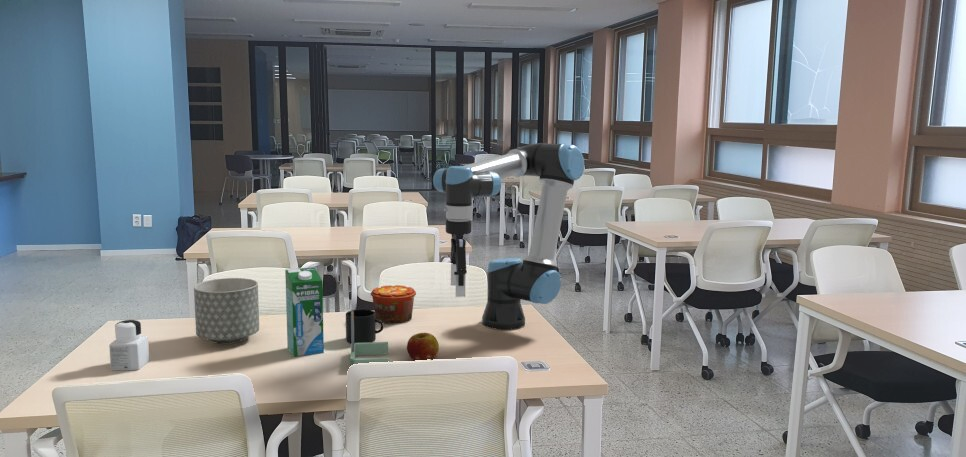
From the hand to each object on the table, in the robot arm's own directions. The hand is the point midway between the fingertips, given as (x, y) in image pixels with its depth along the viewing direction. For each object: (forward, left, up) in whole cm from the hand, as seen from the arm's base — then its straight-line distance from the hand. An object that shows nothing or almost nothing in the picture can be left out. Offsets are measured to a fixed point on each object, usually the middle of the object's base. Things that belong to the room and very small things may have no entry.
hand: (457, 290), depth 210 cm
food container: (+17, -44, -21) cm, 51 cm away
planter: (+70, -26, -21) cm, 78 cm away
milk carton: (+45, -13, -21) cm, 52 cm away
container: (+93, -5, -21) cm, 96 cm away
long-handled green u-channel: (+26, 0, -21) cm, 34 cm away
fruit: (+10, 0, -21) cm, 23 cm away
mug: (+27, -21, -21) cm, 40 cm away
